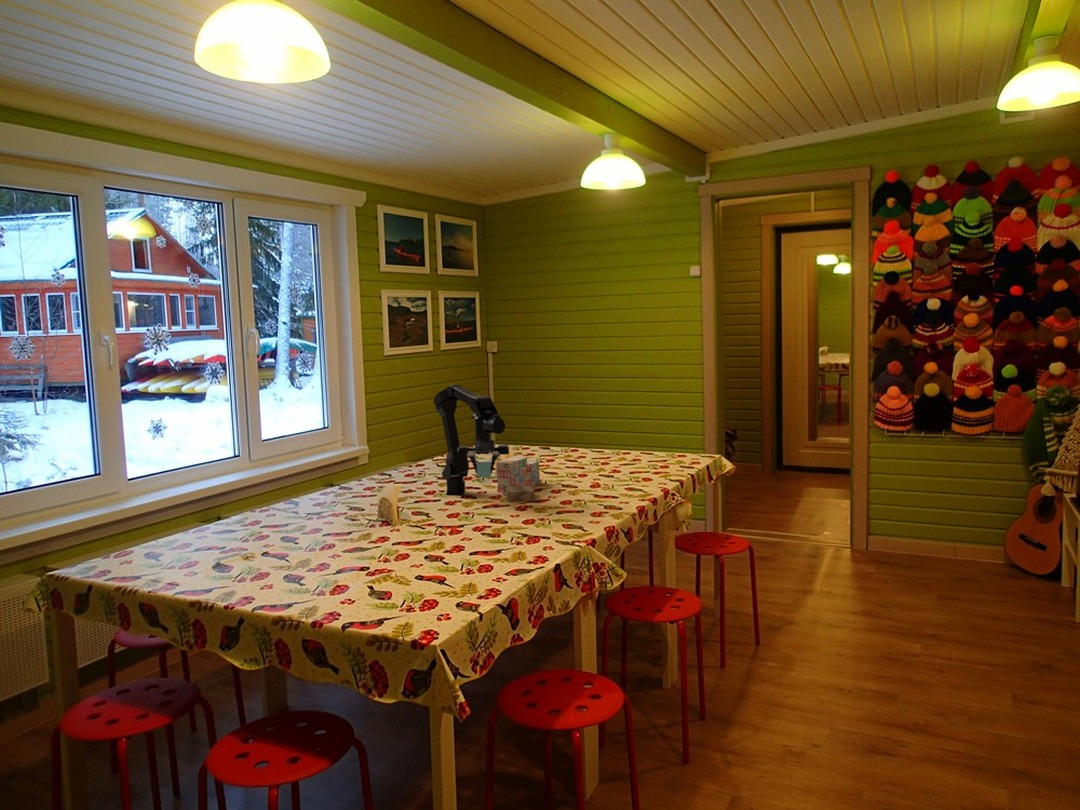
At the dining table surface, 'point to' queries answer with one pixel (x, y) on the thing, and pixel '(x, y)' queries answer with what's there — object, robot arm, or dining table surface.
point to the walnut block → (520, 493)
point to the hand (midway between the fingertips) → (484, 473)
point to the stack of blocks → (517, 473)
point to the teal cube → (483, 469)
